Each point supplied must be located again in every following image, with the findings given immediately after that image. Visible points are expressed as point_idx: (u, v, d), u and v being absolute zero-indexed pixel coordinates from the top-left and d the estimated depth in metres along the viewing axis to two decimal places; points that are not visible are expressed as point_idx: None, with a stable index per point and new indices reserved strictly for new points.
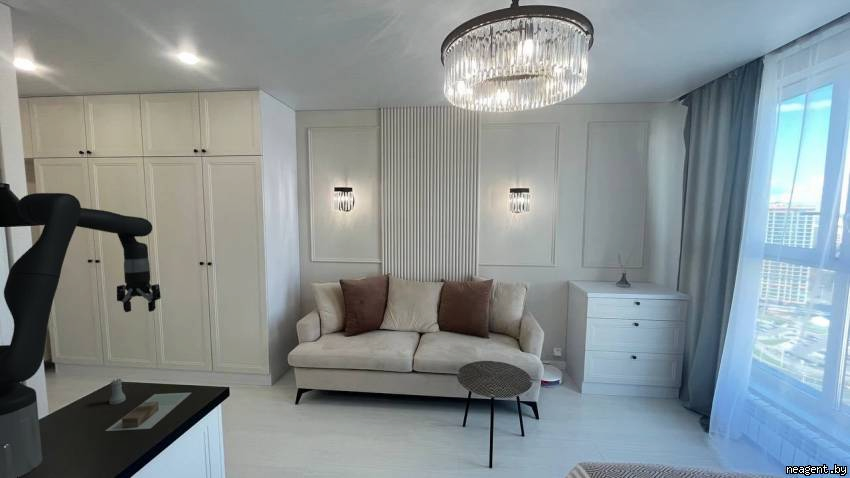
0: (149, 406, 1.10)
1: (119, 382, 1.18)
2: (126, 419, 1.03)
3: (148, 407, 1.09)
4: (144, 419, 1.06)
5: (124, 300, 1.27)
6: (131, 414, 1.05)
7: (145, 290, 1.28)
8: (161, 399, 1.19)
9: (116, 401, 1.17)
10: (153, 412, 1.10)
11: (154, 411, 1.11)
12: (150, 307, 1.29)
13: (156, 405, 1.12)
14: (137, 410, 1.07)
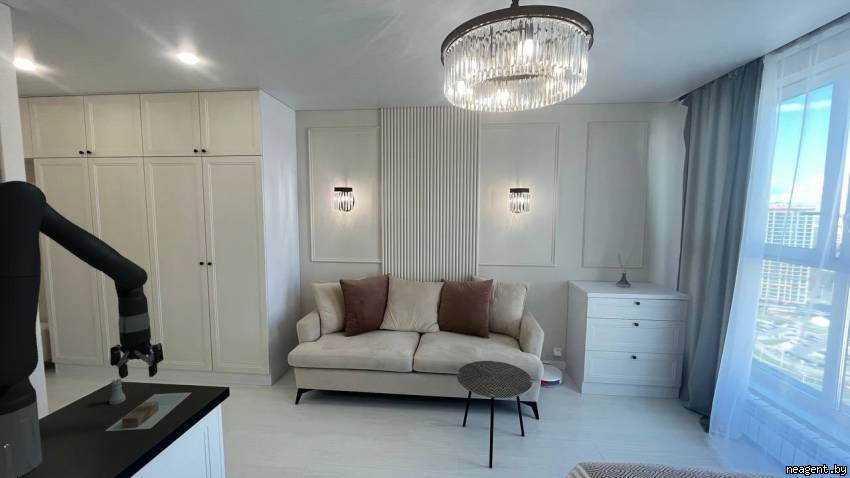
0: (149, 406, 1.10)
1: (119, 382, 1.18)
2: (126, 419, 1.03)
3: (148, 407, 1.09)
4: (144, 419, 1.06)
5: (119, 364, 1.05)
6: (131, 414, 1.05)
7: (145, 352, 1.06)
8: (161, 399, 1.19)
9: (116, 401, 1.17)
10: (153, 412, 1.10)
11: (154, 411, 1.11)
12: (151, 372, 1.06)
13: (156, 405, 1.12)
14: (137, 410, 1.07)
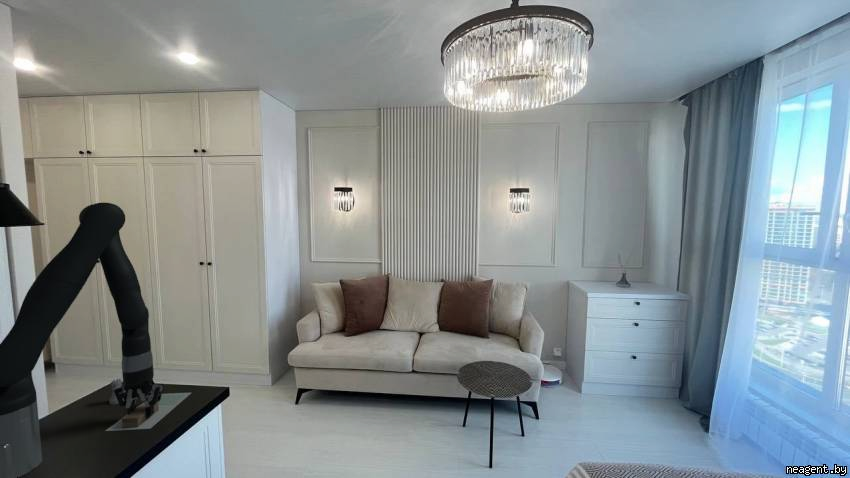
0: None
1: (119, 382, 1.18)
2: (126, 419, 1.03)
3: None
4: (144, 419, 1.06)
5: (128, 405, 1.06)
6: (131, 414, 1.05)
7: (146, 392, 1.07)
8: (161, 399, 1.19)
9: (116, 401, 1.17)
10: None
11: (154, 411, 1.11)
12: (148, 413, 1.07)
13: (156, 405, 1.12)
14: (137, 410, 1.07)
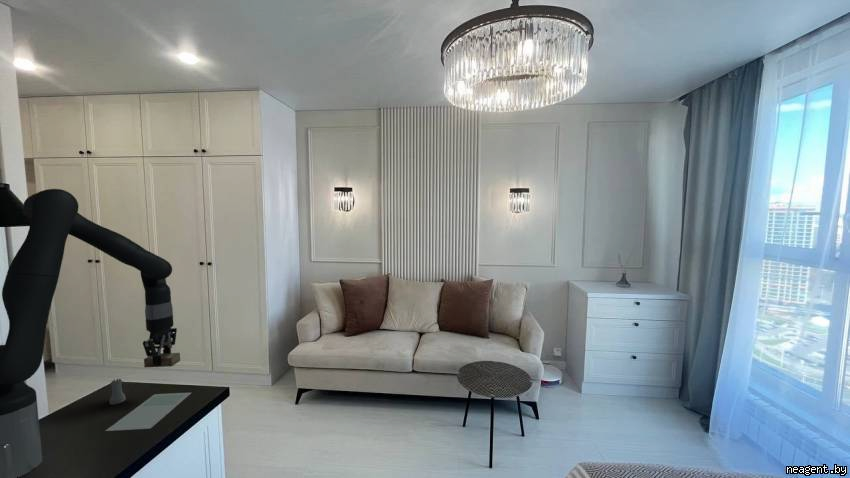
0: (164, 357, 1.16)
1: (119, 382, 1.18)
2: None
3: (164, 357, 1.17)
4: (152, 364, 1.16)
5: None
6: None
7: None
8: (161, 399, 1.19)
9: (116, 401, 1.17)
10: (164, 364, 1.16)
11: (165, 363, 1.16)
12: None
13: (169, 360, 1.16)
14: (163, 354, 1.19)
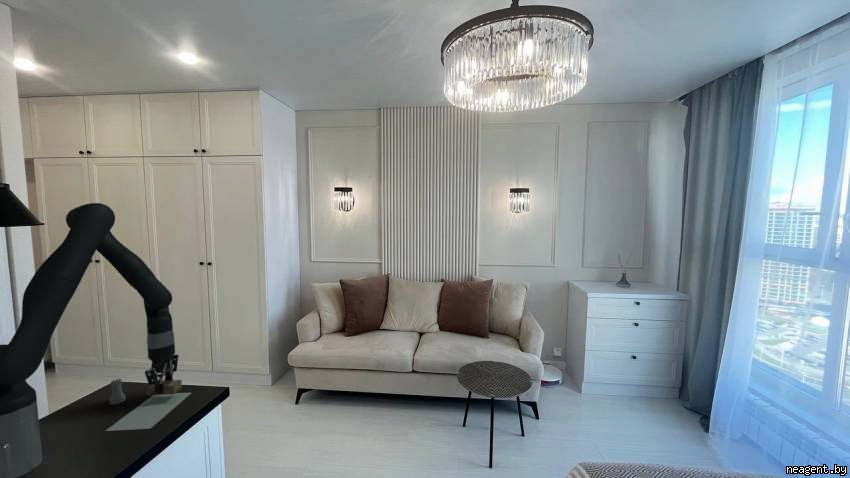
0: (166, 385, 1.17)
1: (119, 382, 1.18)
2: None
3: (165, 385, 1.18)
4: (154, 392, 1.16)
5: None
6: None
7: None
8: (161, 399, 1.19)
9: (116, 401, 1.17)
10: (166, 392, 1.17)
11: (167, 391, 1.17)
12: None
13: (170, 388, 1.17)
14: (165, 382, 1.19)
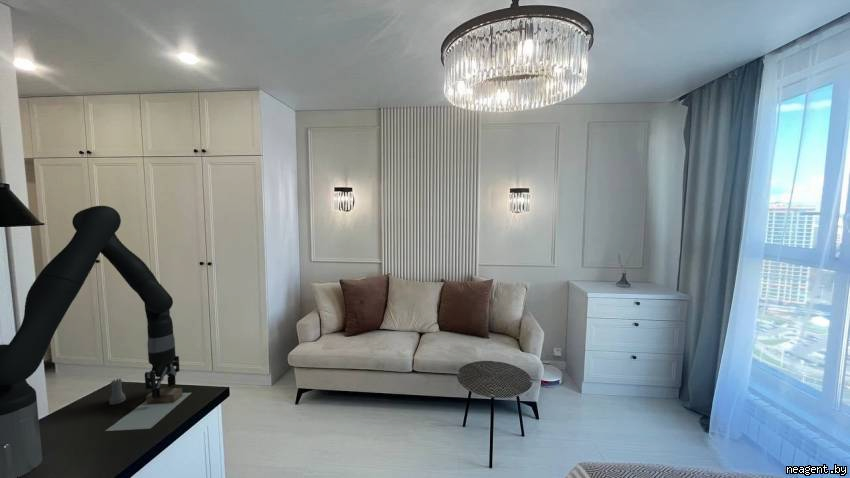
0: (166, 393, 1.17)
1: (119, 382, 1.18)
2: None
3: (166, 393, 1.18)
4: (154, 401, 1.16)
5: None
6: None
7: None
8: None
9: (116, 401, 1.17)
10: (166, 401, 1.17)
11: (167, 400, 1.17)
12: None
13: (171, 396, 1.17)
14: (165, 390, 1.19)
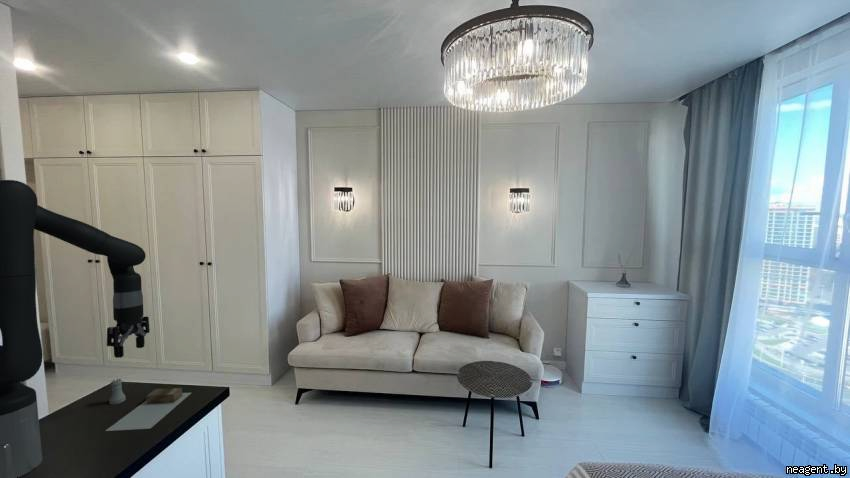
0: (166, 393, 1.17)
1: (119, 382, 1.18)
2: None
3: (166, 393, 1.18)
4: (154, 401, 1.16)
5: None
6: (159, 390, 1.20)
7: None
8: None
9: (116, 401, 1.17)
10: (166, 401, 1.17)
11: (167, 400, 1.17)
12: None
13: (171, 396, 1.17)
14: (165, 390, 1.19)
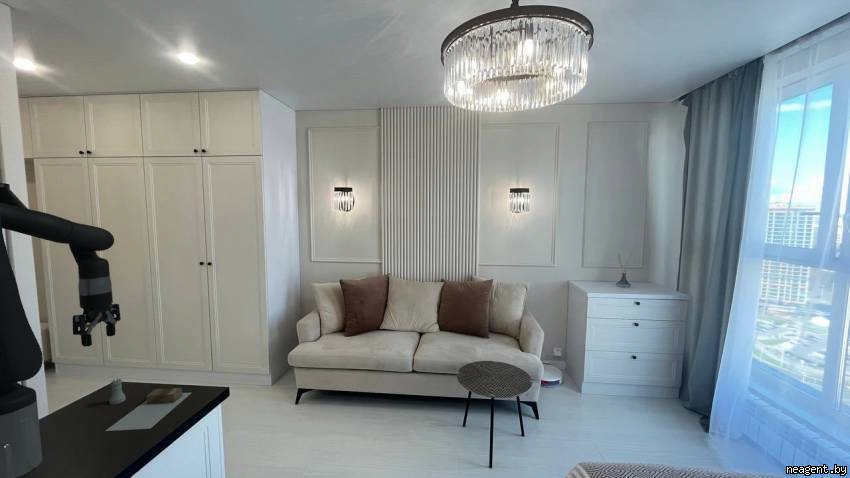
0: (166, 393, 1.17)
1: (119, 382, 1.18)
2: None
3: (166, 393, 1.18)
4: (154, 401, 1.16)
5: None
6: (159, 390, 1.20)
7: None
8: None
9: (116, 401, 1.17)
10: (166, 401, 1.17)
11: (167, 400, 1.17)
12: None
13: (171, 396, 1.17)
14: (165, 390, 1.19)
